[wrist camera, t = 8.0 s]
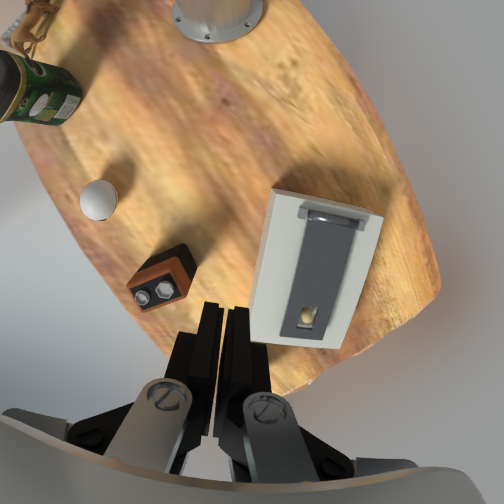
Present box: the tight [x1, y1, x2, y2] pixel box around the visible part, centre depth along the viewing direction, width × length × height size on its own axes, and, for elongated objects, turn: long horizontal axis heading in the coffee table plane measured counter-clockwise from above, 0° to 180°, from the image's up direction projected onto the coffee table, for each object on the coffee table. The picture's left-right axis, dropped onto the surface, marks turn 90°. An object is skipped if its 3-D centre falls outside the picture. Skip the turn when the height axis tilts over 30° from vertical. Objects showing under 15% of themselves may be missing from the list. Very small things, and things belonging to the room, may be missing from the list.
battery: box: [126, 244, 197, 313], centre depth 36 cm, size 4×7×10 cm, turn 112°
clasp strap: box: [279, 209, 358, 340], centre depth 34 cm, size 17×6×1 cm, turn 170°
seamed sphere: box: [80, 180, 126, 221], centre depth 35 cm, size 8×6×6 cm
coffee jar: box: [0, 50, 82, 126], centre depth 22 cm, size 10×8×19 cm
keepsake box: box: [247, 188, 384, 349], centre depth 38 cm, size 20×14×8 cm
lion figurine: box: [11, 0, 59, 59], centre depth 21 cm, size 15×5×9 cm, turn 168°
